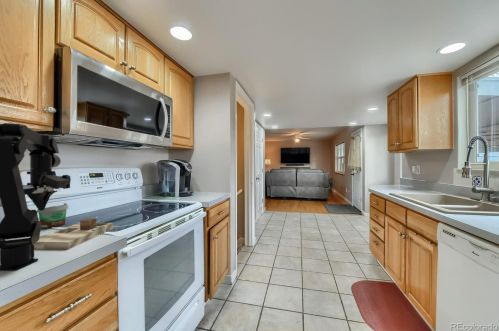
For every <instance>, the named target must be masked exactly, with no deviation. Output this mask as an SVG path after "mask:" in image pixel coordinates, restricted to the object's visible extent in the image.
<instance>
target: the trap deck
mask: <svg viewBox="0 0 499 331" xmlns="http://www.w3.org/2000/svg"><path fill="white" fill-rule="evenodd" d="M113 229H114V222H97V227H96V228H93V229H91V230H80V222H77V223H75V224H72V225H69V226H66V227H63V228H60V229H58V230H55V231H52V232H48V233H45V234H42V235H40V237H39V240H38V241H37V242H36V243H34V244H33V245H34V250H35V249H37V250H43V249H44V250H71V249H72V248H74V247H76V246H78V245H81V244H83V243H85V242H88V241H89V239H90V240H91V238H92V239H94V238H96V237H98V236H100V235H102V234H104V233H103V232H105V233H106V232H108V231H111V230H113ZM101 233H102V234H101ZM99 234H100V235H99ZM97 235H98V236H97ZM95 236H96V237H95ZM93 237H94V238H93Z"/></svg>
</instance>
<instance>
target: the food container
mask: <svg viewBox="0 0 499 331" xmlns="http://www.w3.org/2000/svg"><path fill="white" fill-rule="evenodd" d="M68 209H69V204H68V203H67V202H64V203H63V204H62V205H52V206H49V207H45V209H44V210H42V211H39V210H38V208H37V210H36V211H37V213H38V218H39V221H40V222H41V230H46V228H49V229H53V228H52V227H56V228H59V227H63V226H65V225H66V220H67V219H66V218H67V210H68Z"/></svg>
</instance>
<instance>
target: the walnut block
mask: <svg viewBox="0 0 499 331" xmlns="http://www.w3.org/2000/svg"><path fill="white" fill-rule="evenodd" d="M97 219H98V218H97V217H86V218H83V219H81V220H79V223H80V230H91V229H93V228H96V227H97V223H98V222H97V221H98V220H97Z"/></svg>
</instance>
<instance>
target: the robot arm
mask: <svg viewBox="0 0 499 331" xmlns="http://www.w3.org/2000/svg"><path fill="white" fill-rule="evenodd" d="M26 151H28V152H29V153H28V156H29V168H30V169H29V171H26V175H30V176H29V179H30V180H29V182H26V184H23V182H22V177H21V172H20V168H19V165H20V164H21V162H22V161H23V160H24V157H25V152H26ZM57 154H60V151H59V148H58V144H57V141H56V138H55V137H54V136H53V135H52V134H43V133H42V134H41V133H38V132H36V131H34V130H33V129H31V128H29V127H28V126H27V125H26V124H23V123H13V122H12V123H11V122H10V123H9V122H4V123H0V203H1V208H2V210H3V215H4V216H3V218H2V219H1V220H0V271H17V270H20V269H22V268H24V267H26V266H28V265H31V264H33V263H34V262H37V261H39V258H35V249H34V245H33V244H34V243H36V242H37V241H38V240H39V237H40V236H41V230H42V229H41V222H40V220H39V214H38V212H37V210H36V209H29V208H28V203H27V199H26V196H27V197H28V198H29V199H30V200H31V202H32V203H33V204H34V206H35V207H36V208H37V209H38V210H39V211H42V210H44V209H45V208H47V204H48V202H49V199H50V198H51V197H52V195H54V194H55V193H57V192H58V190H59V189H64V190H66V189H71V180H72V179H71V175H69V174H62V176H61V175H57V173H56V170H53V168H57V167H59V165H60V164H61V158H60V156H59V155H57Z"/></svg>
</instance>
